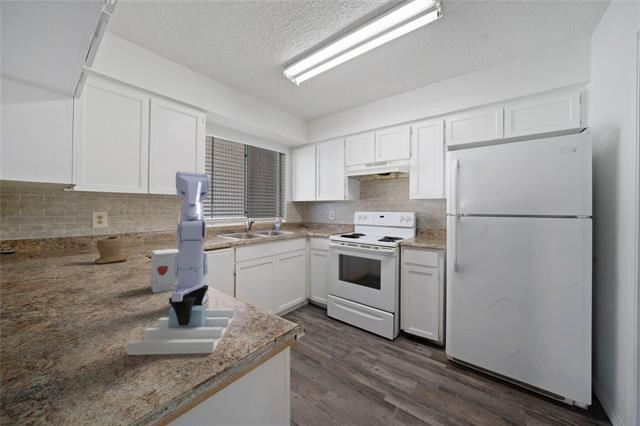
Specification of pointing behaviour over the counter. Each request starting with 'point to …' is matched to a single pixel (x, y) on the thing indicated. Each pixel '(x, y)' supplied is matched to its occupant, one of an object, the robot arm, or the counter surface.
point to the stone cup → (110, 250)
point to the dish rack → (184, 336)
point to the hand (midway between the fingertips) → (189, 319)
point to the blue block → (195, 320)
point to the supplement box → (163, 270)
